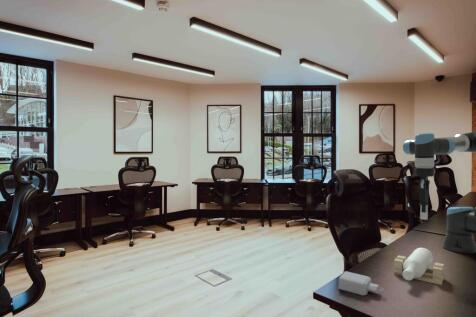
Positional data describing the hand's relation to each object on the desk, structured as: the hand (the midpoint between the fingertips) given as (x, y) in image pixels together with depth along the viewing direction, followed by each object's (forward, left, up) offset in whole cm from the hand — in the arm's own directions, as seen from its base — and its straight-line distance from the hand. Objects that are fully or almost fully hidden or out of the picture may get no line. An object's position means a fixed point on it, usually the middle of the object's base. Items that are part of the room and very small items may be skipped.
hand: (423, 219), depth 136 cm
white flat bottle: (+40, +20, -23) cm, 50 cm away
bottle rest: (+9, +9, -22) cm, 26 cm away
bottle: (-1, -1, -17) cm, 17 cm away
